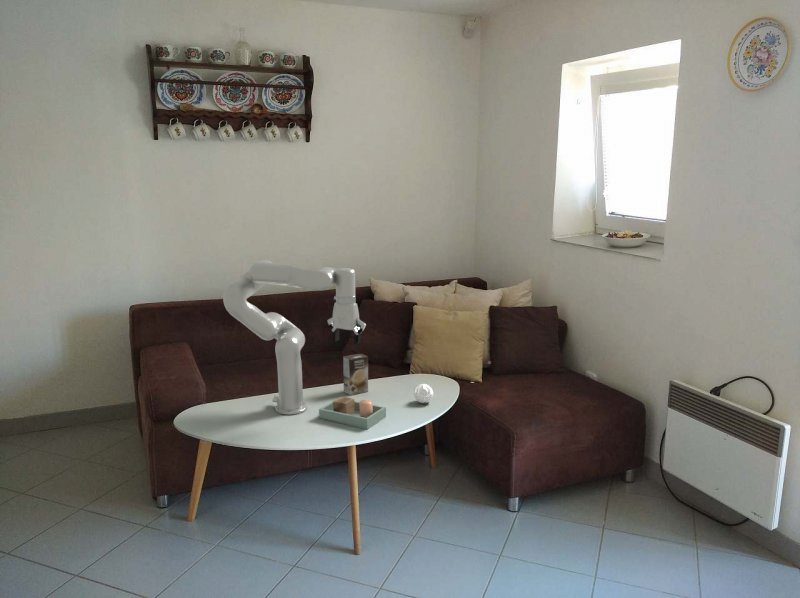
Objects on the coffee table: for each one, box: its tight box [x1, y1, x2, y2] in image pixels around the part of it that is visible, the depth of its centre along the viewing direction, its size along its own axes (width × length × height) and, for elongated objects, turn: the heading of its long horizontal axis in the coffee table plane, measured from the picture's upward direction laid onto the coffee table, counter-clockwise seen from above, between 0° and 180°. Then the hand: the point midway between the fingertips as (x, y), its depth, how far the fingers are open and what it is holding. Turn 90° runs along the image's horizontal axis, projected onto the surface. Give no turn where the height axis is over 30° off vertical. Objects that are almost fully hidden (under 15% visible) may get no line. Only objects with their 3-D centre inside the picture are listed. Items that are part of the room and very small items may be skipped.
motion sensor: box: [413, 383, 434, 404], centre depth 261 cm, size 8×8×8 cm
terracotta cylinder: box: [358, 399, 373, 418], centre depth 241 cm, size 5×5×7 cm
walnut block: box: [332, 396, 355, 415], centre depth 246 cm, size 6×6×6 cm
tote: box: [318, 400, 387, 431], centre depth 245 cm, size 22×14×4 cm, turn 62°
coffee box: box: [342, 353, 369, 396], centre depth 273 cm, size 9×6×16 cm
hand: (346, 342), depth 248 cm, fingers open, 9 cm apart
